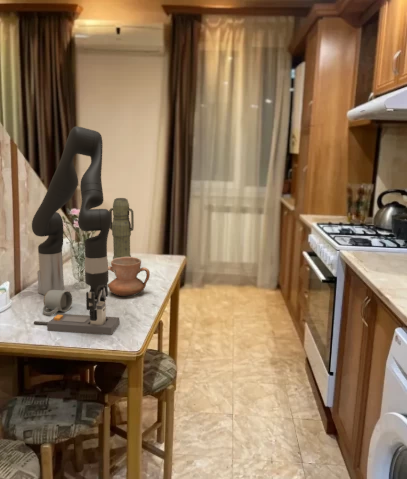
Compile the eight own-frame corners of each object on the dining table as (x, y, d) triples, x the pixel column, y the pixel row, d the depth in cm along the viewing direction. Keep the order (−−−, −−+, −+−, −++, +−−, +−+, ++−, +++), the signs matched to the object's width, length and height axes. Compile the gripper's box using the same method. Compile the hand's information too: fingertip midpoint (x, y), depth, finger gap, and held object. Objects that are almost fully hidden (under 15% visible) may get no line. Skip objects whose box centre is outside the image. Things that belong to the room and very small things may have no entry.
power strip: (27, 329, 155) (26, 319, 155) (39, 318, 164) (39, 310, 163) (111, 334, 152) (111, 325, 151) (119, 324, 161) (119, 315, 160)
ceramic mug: (54, 304, 178) (53, 285, 176) (73, 307, 176) (72, 288, 174) (36, 314, 168) (35, 294, 167) (56, 318, 166) (54, 297, 164)
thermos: (112, 267, 230) (110, 197, 222) (135, 268, 229) (135, 197, 221) (107, 272, 221) (105, 199, 213) (132, 273, 220) (131, 200, 213)
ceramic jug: (102, 298, 186) (101, 264, 183) (110, 287, 200) (109, 255, 197) (147, 299, 185) (146, 265, 182) (152, 288, 199) (151, 256, 196)
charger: (90, 330, 155) (89, 305, 153) (94, 325, 159) (93, 300, 157) (102, 331, 155) (101, 305, 153) (106, 326, 159) (105, 301, 157)
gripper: (93, 262, 160) (94, 307, 164) (77, 274, 146) (79, 323, 150) (114, 264, 159) (115, 308, 163) (100, 276, 145) (101, 324, 149)
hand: (98, 315), depth 156 cm, fingers open, 8 cm apart
